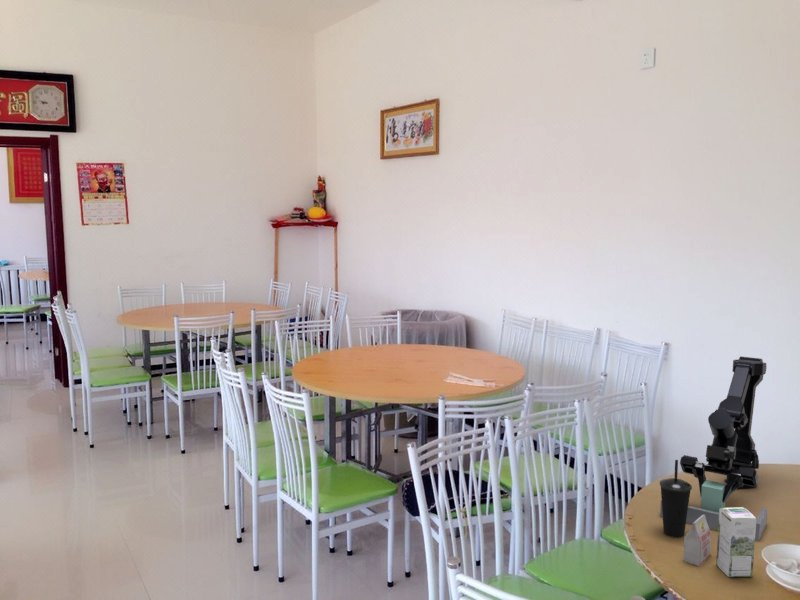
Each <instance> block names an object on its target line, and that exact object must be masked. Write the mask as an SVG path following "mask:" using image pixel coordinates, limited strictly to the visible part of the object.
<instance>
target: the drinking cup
mask: <svg viewBox="0 0 800 600" xmlns="http://www.w3.org/2000/svg"><path fill="white" fill-rule="evenodd" d="M678 465H679V460H678V459H675V460H674V477H669V478H664V479H661V480H660V481H659V486H660V494H661V495H660V496H661V500H662V514H663V517H662V525H663V527H662V530H663V534H664V535H666V536H668V537H671V538H677V539H678V538H682V537H685V533H686V532H685V531H686V524H687V523H686V518H687V511H688V506H689V504H690V496H691V491H692V489H693V486H692V484H691V483H689V482H687V481H686V480H683V479H681V478H678V471H679V468H678Z"/></svg>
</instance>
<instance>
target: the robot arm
mask: <svg viewBox="0 0 800 600" xmlns="http://www.w3.org/2000/svg"><path fill="white" fill-rule="evenodd" d="M766 372H767V362H764V361H763V358H759V357H748V356H739V358H738V359H733V360H732V373H733V374H732V379H731V382H730V386H729V389H728V393H727V396H726V397H725V399H723V400H722V401H720V402H719V405H718V408H717V409H715V410H714V411H713V412H712V413H710V415H708V417H707V418H708V419H707V421H708V424H709V427H710V430H711V434H712V436H713V438H712V439H713V440H712V443H711V445H710V444H707V445H706V452H705V457H706V458H705V461H706V463H704V462H701V461H699V460H698V457H697V456H691V455H685V454H684V455H682V456H681V457H680V461H679V466H680V467H681V470H682V472H683V473H685V474H689V475H693V477H694V478H696V479H697V481H698V487H699V494H700V496H701V492H702V485H703V483H704V482H705V481H706V480H707V478H706V472H707V473H712V474H718V475H723V476H726V478H725V479H724V482H725V483H726V488H725V491H724V494H723V500H722V501H723V502H725V501H727V500H728V499H729V497H730V496H731V495H732V494H733V493H734V492H735V491H736V490H737V489H751V488H752V489H754V488H757V487H758V482H759V475H758V470H757V469H759V468H760V460H759V455H758V452H757V449H756V443H755V442H754V439H753V436H751V433H752V424H753V415H754V407H755V399H756V398H755V397H756V390H757V389H756V388H757V387H758V386H759V385H760V383H761V382H762V381H763V379H764V375H766ZM725 503H726V502H725Z"/></svg>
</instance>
